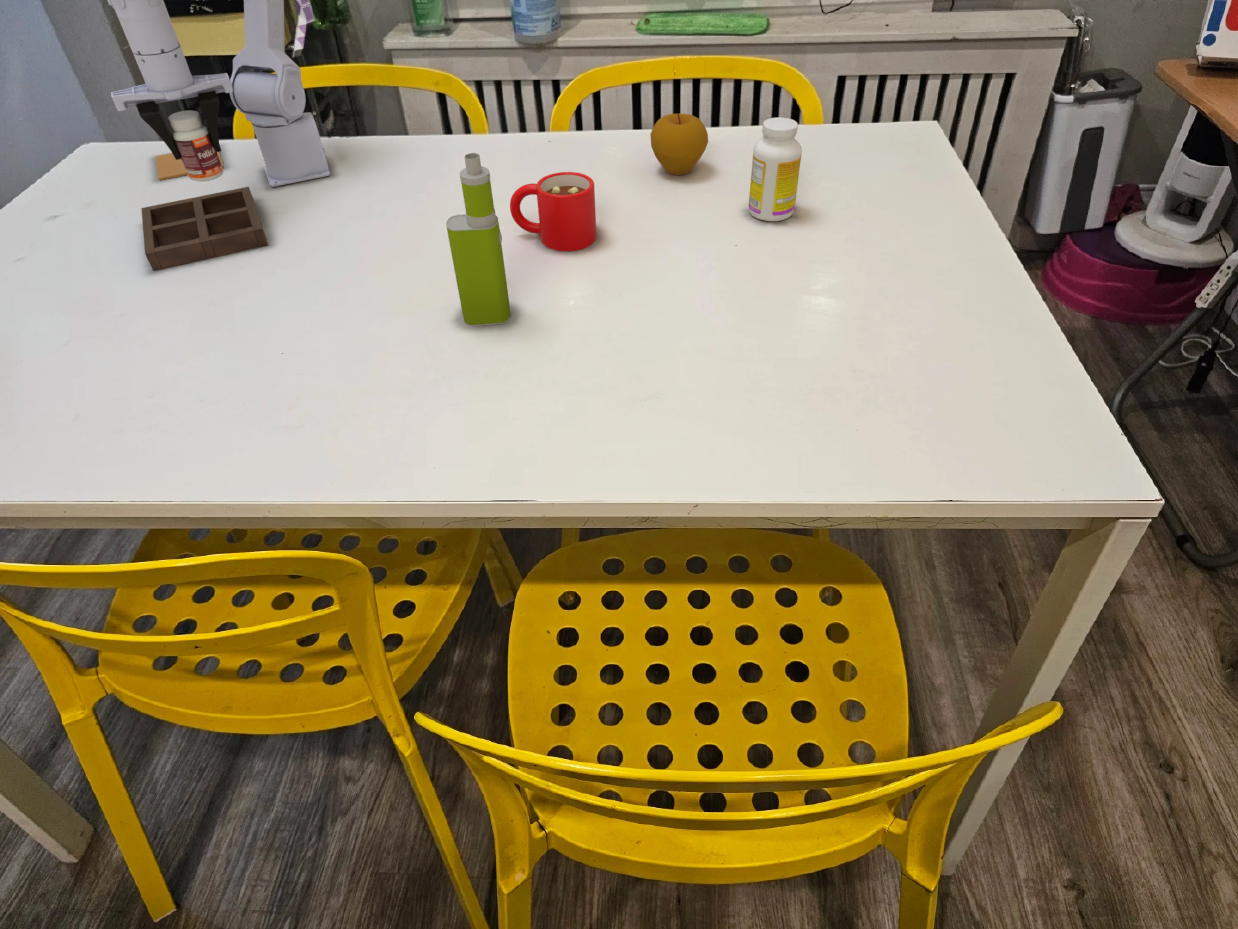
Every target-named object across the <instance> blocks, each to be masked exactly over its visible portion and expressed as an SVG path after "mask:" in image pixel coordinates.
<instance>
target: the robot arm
mask: <svg viewBox="0 0 1238 929" xmlns="http://www.w3.org/2000/svg"><path fill="white" fill-rule="evenodd" d="M106 1H107V3H108V5H109V6H111V8H112V9H113V10H114V12H115V13H116V17H117V19H118V21H119V23H120V26H121V28H122V32H123V33H124V36H125V38H126V40H127V43H128V46H129V47H130V50H131V52H132V54H133V57H134V59H135V61H136V64H137V66H138V69H139V71H140V73H141V76H142V78H143V81H144V83H143V84H139V85H135V86H132V87H128V88H125V89H120V90H115V91H111V92H110V95H111V99H112V101H113V104H114V106H115V108H116V110H117V112H119V113H120V112H125V111H127V110H128V109H132V108H136V109H137V111H138V115H139V117H140V118H141V119H142V120H143V121H144V123H146V124H147V125H148V126H149V127H150V128H151V129H152V130H153V131H154V132H155V133H156V134H157V135H158V137H160V139H161V140H162V141H163V142H164V144H165V145H166V146H167V147H168V149H169V151H170V153H172V154H173V155H174V157H175V159H176V160H179V159H181V156H180V154H179V152H178V149H177V147H176V144H175V142H174V140H173V137H172V133H171V130H170V129H169V126H168V124H167V122H166V119H165V116H164V114H163V111H162V109H161V106H160V104H161V103H162V104H163V103H167V102H173V101H179V100H184V99H191V98H196V97H197V100H198V104H199V107H200V110H201V113H202V115H203V118H204V120H205V122H206V125H207V128H208V130H209V132H210V135H211V138H212V141H213V144H214V147H215V150H216V152H222V148H221V145H220V139H219V110H220V100H219V97H218V94H220V93H226V94H229V96H230V97H229V98H230V100H231V102H232V105H233V106H234V107H235V109H236V110H238V111H239V113H241V114H244V117H245V119H246V121H247V122H251V126H252V129H253V131H254V134H255V138H256V141H257V144H258V147H259V150H260V153H261V156H262V158H263V161H264V164H265V166H264V167H263V170H264V173H265V176H266V179H267V181H268V183H269V186H270V187H271V188H275V187H279V186H285V185H290V184H293V183H299V182H304V181H310V180H315V179H319V178H320V179H321V178H324V177H329V176H331V171H330V168H329V164H328V161H327V160H328V157H327V152H326V149H325V148H324V147H323V143H322V140H321V136H320V133H319V130H318V126H317V124H316V121H315V118H314V116H313V113H312V112H305V111H304V110H305V108H306V101H307V99H306V98H307V97H306V93H305V89H304V86H303V81H302V69H301V68H300V66H299V65H298V64H297V63H296V62H295V61H294V60H293V59H292V58H290V57H289V55H288V54H287V53H286V51H285V50H286V49H285V48H286V46H285V1H284V0H243V16H244V18H243V19H244V44H245V46H244V47H243V48H242V49H241V50H240V51H239V52H238V53H237V54H236V55H235V56H234V57H233V59H232V73H231V76H229V74H228V73H227V72H224V73H217V74H204V75H203V74H202V75H192V73H191V70H190V68H189V65H188V62H187V59H186V57H185V54H184V52H183V48H182V47H181V43H180V42H179V39H178V36H177V33H176V30H175V28H174V25H173V23H172V20H171V17H170V15H169V11H168V9H167V6H166V4H165V1H164V0H106ZM264 71H271V72H272V73H271V72H264ZM273 72H275V73H273Z"/></svg>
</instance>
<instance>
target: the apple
mask: <svg viewBox="0 0 1238 929" xmlns="http://www.w3.org/2000/svg"><path fill="white" fill-rule="evenodd" d="M649 136H650V146H651V149H652V151H653V154H654V156H655V158H656V160H657V161H658V163H659V164H660V166H661V167H662V168H663V170H664V171H665V172H666V173H667V174H670V175H673V176H684V175H686V174H688V173H690V172H691V171H692V170H693V168H694V167H695V166H696V165H697V163H698V162H699V161H700V159H701V158H702V156H703V155H704V152H706V149H707V147H708V143H709V134H708V131H707V128H706V126H705V124H704V123H703V122H702V121H701V119H699V118H698V117H697V116H695V115H692V114H689V113H669V114H665V115H663V116H661V117H660V118H659V119H658V120H657V121H656V123H655V124H654V125H653V127H652V129H651V132H650V135H649Z"/></svg>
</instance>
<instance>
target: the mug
mask: <svg viewBox="0 0 1238 929" xmlns="http://www.w3.org/2000/svg"><path fill="white" fill-rule="evenodd" d="M595 193H596V192H595V182H594V179H593V178H591V177H590V176H589V175H587V174H585V173H581V172H575V171H561V172H554V173H550V174H547V175H544V176H543V177H541V178H540V179H538V180H537V182H536V183H527V184H523V185H522V186H519V187H518V188H517V189H515V191H514V192H513V193H512V196H511V197H510V200H509V210H510V214H511V217H512V219H513V221H514V223H516V225H517V226H518V227H519V228H521V229H522V230H524V231H525V232H527V233H531V234H538V235H539V234H540V240H541V243H542V244H543V246H544V247H546V248H548V249H550V250H553V251H557V252H575V251H580V250H585V249H586V248H588V247H590V246H591V245H593V244H594V243H595V242H596V240H597V236H598V234H597V216H596V214H597V213H596V212H597V211H596V194H595ZM533 195H535V196H536V201H537V202H536V203H537V212H538V220H539V222H533V221H531V220H529V219H527V218H526V217H525V216H524V215H523V213H522V211H521V204H522V201H523V200H524V199H525V197H529V196H533Z"/></svg>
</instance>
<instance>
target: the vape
mask: <svg viewBox="0 0 1238 929" xmlns="http://www.w3.org/2000/svg"><path fill="white" fill-rule="evenodd" d="M463 157H464V163H465V168H462V169H460V171H459V179H460V184H461V189H462V190H461V191H462V196H463V202H464V209H465V214H455V215H452V216H450V217H448V219H446V222H445V227H446V231H447V236H448V242H449V248H450V253H451V260H452V264H453V269H454V275H455V280H456V285H457V292H458V297H459V302H460V308H461V314H462V318H463V322H464V324H466V325H467V326H470V327H478V326H492V325H493V326H494V325H495V326H496V325H503V324H506V323H507V322H509V320H510V319H511V317H512V313H511V311H512V310H511V305H510V304H511V303H510V297H509V289H508V282H507V275H506V274H507V273H506V267H505V260H504V251H503V245H502V242H503V236H502V232H501V228H500V222H499V217H498V216H497V214H496V209H495V205H494V198H493V190H492V183H491V173H490V170H489V168H488V167H485V166H482V164H481V156H480V154H479V153H477V152H469V153H467V154H465V155H464V156H463Z"/></svg>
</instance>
